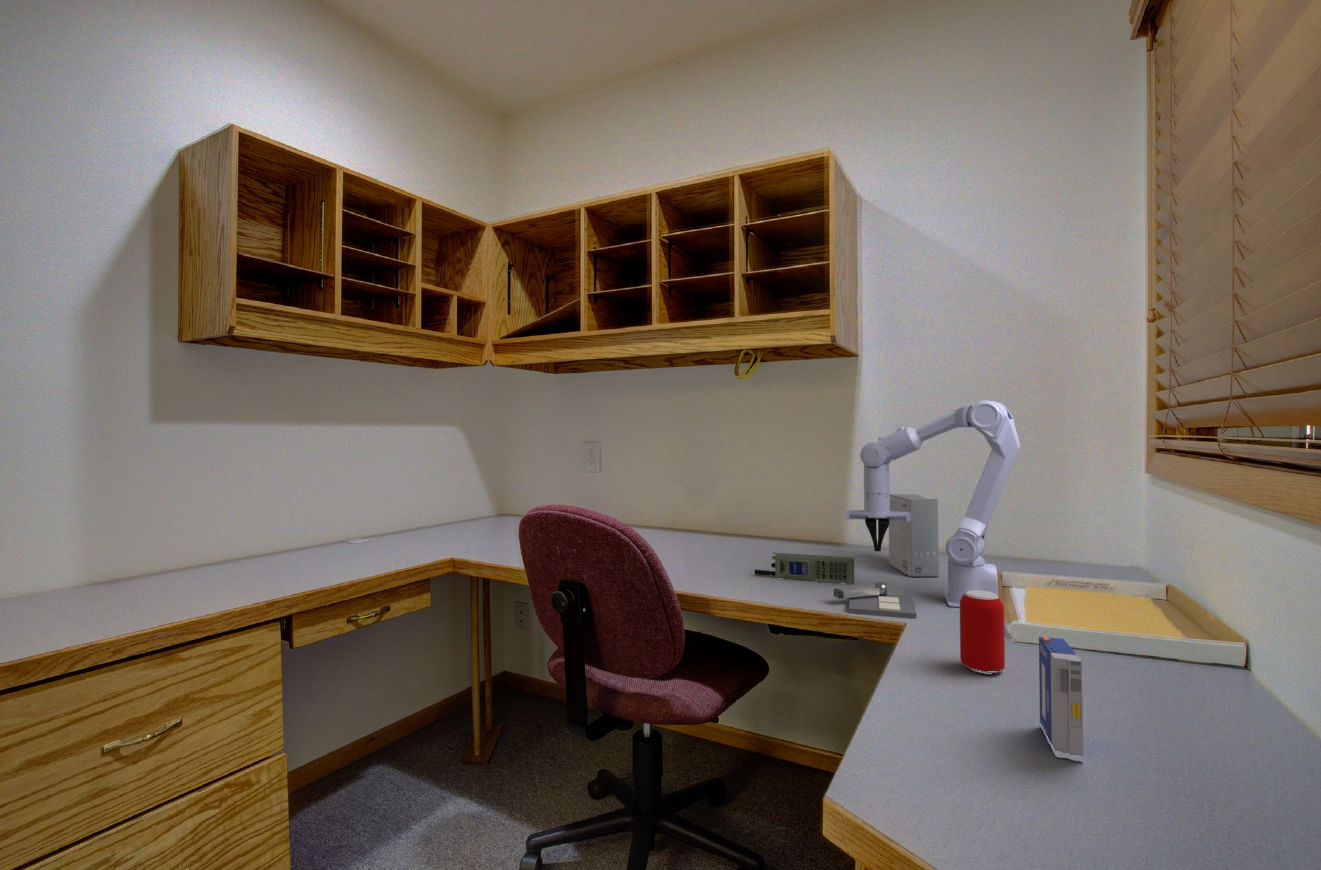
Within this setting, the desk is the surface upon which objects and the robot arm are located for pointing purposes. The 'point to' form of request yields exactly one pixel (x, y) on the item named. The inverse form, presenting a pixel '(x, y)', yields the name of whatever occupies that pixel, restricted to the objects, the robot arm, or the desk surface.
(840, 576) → the handheld radio
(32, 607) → the desk surface
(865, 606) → the label board
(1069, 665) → the walkman
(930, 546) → the hard drive box
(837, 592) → the bar
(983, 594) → the beverage can
